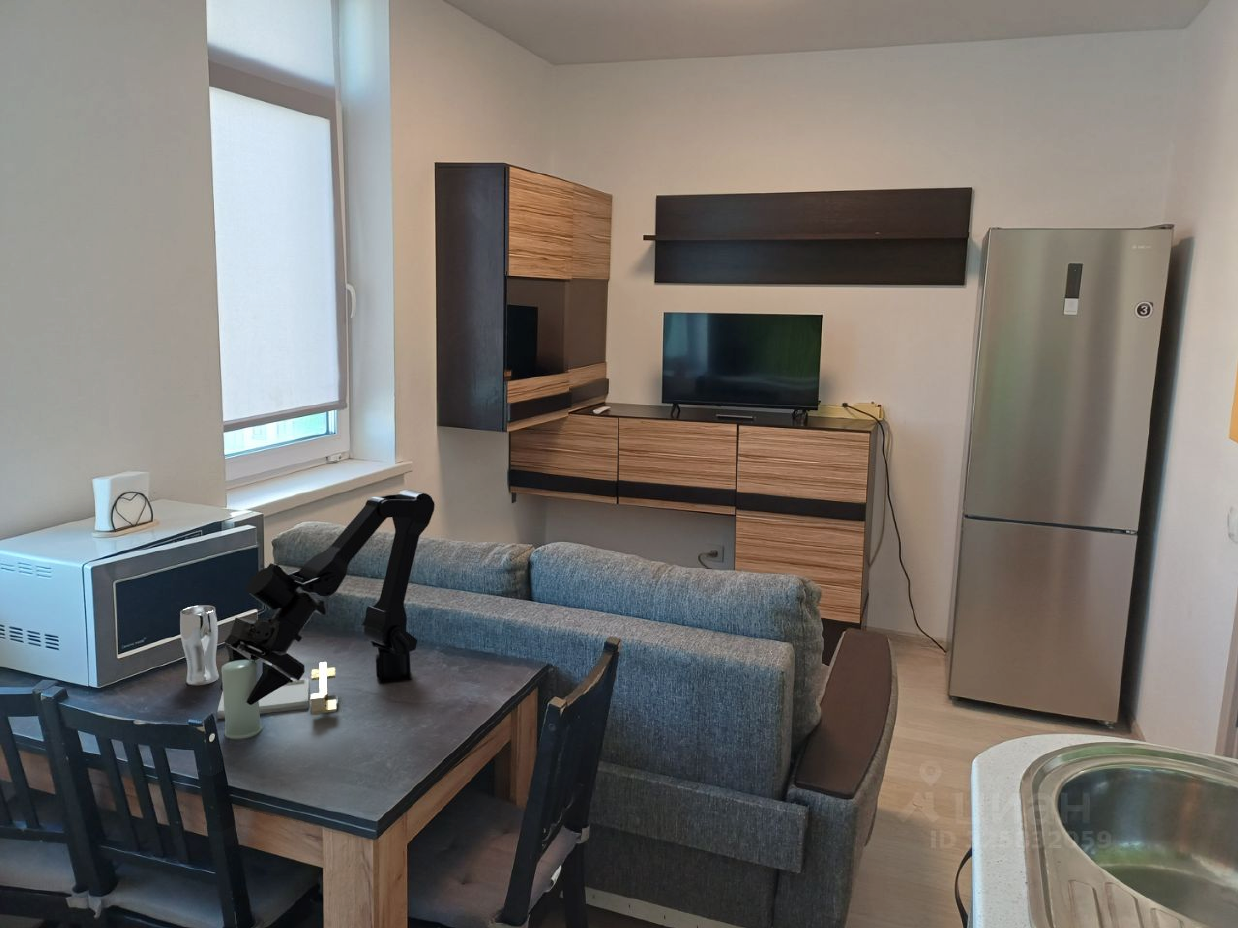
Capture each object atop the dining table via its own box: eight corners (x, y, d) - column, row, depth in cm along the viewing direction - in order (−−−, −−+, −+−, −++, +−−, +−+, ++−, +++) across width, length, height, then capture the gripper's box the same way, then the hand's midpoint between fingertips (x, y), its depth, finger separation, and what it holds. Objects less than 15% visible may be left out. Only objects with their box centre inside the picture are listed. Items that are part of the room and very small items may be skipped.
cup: (262, 721, 169) (258, 657, 167) (260, 736, 163) (256, 670, 161) (226, 726, 167) (222, 661, 165) (223, 741, 161) (218, 674, 159)
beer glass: (207, 687, 185) (201, 616, 182) (176, 684, 186) (171, 614, 184) (228, 674, 191) (223, 605, 189) (198, 672, 193) (193, 603, 190)
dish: (309, 684, 186) (308, 677, 186) (308, 708, 175) (307, 700, 175) (224, 693, 182) (224, 686, 181) (217, 718, 170) (217, 711, 170)
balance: (337, 689, 184) (336, 656, 183) (338, 720, 170) (336, 685, 169) (311, 692, 182) (309, 659, 181) (310, 724, 168) (308, 689, 167)
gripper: (231, 590, 171) (176, 663, 164) (285, 610, 159) (229, 689, 152) (272, 620, 178) (221, 691, 171) (327, 641, 166) (275, 718, 159)
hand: (235, 696), depth 163 cm, fingers open, 9 cm apart
